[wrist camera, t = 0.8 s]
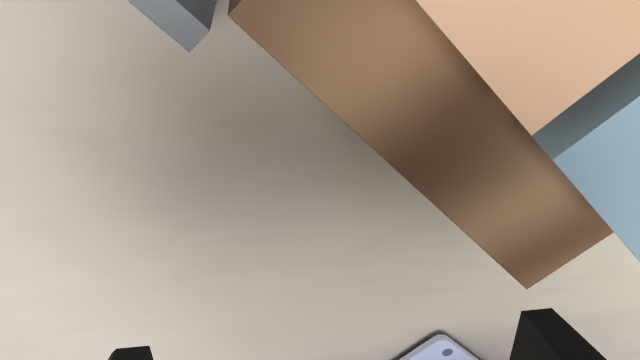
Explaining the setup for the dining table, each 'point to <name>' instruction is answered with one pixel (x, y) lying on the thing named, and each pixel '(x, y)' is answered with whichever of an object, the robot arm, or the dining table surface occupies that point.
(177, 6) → the tray
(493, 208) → the bench board
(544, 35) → the tile sand
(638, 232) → the pale blue block
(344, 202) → the dining table surface
